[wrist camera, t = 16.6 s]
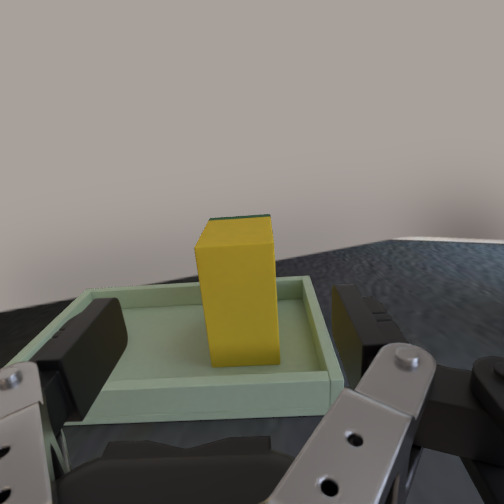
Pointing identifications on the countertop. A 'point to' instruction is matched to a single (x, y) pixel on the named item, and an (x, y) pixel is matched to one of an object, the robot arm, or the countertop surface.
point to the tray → (206, 359)
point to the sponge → (239, 290)
